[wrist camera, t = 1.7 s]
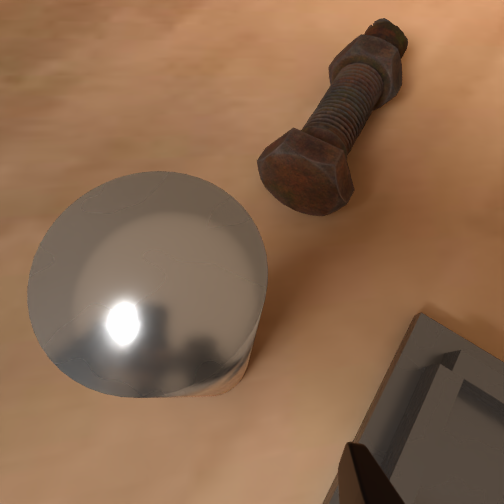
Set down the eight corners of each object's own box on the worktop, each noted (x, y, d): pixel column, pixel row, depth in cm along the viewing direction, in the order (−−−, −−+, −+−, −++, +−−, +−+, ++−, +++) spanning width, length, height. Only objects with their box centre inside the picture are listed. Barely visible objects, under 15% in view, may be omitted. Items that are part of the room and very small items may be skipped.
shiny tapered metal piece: (195, 412, 18) (81, 455, 5) (160, 343, 19) (-5, 232, 6) (262, 369, 19) (313, 310, 6) (225, 305, 20) (199, 140, 7)
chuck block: (570, 735, 14) (629, 795, 12) (308, 532, 16) (319, 552, 14) (632, 447, 18) (684, 454, 16) (414, 315, 20) (435, 306, 18)
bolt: (377, 85, 29) (298, 224, 24) (337, 36, 28) (242, 173, 22) (444, 40, 24) (364, 203, 19) (400, -23, 23) (297, 135, 17)
